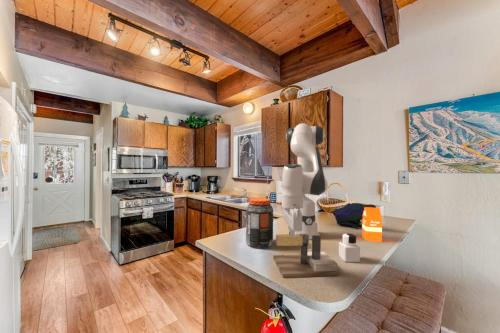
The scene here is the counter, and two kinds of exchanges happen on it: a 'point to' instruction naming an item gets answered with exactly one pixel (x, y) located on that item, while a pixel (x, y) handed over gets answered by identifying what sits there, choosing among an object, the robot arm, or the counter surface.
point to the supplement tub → (259, 223)
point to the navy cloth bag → (351, 214)
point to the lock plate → (307, 262)
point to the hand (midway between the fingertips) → (291, 236)
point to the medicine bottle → (349, 249)
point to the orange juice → (372, 224)
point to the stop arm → (292, 240)
